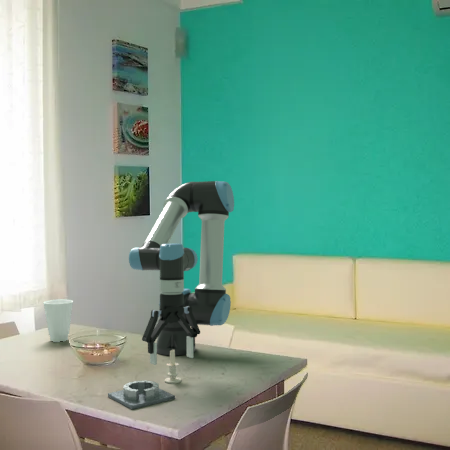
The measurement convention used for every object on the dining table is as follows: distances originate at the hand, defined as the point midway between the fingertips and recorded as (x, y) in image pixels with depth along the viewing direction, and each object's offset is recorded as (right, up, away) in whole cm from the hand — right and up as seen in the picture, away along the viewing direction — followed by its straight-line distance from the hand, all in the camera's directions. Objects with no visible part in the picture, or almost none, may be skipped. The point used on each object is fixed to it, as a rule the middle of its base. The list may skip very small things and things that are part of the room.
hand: (172, 360), depth 188 cm
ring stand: (-8, -7, -15) cm, 19 cm away
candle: (0, -7, +1) cm, 7 cm away
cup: (-52, -5, +59) cm, 79 cm away
